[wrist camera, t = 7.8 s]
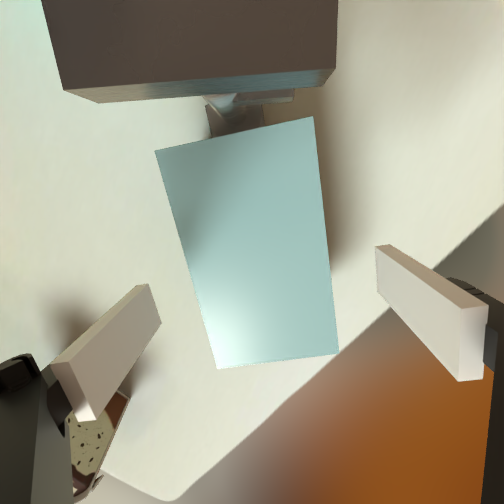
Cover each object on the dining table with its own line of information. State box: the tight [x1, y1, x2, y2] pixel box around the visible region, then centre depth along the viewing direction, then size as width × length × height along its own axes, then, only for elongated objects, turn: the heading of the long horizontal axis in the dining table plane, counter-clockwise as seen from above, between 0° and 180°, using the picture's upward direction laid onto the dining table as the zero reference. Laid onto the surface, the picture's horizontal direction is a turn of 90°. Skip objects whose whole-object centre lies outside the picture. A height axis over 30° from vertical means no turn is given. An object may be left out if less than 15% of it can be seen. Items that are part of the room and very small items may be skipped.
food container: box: [66, 390, 130, 504], centre depth 28 cm, size 12×6×10 cm, turn 46°
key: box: [41, 0, 338, 126], centre depth 14 cm, size 9×2×13 cm, turn 93°
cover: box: [155, 116, 339, 369], centre depth 19 cm, size 17×10×3 cm, turn 11°
